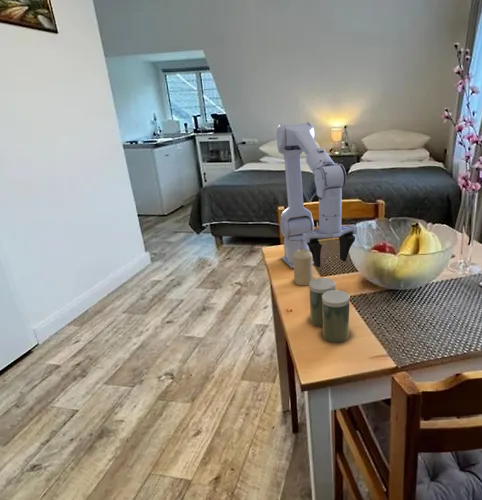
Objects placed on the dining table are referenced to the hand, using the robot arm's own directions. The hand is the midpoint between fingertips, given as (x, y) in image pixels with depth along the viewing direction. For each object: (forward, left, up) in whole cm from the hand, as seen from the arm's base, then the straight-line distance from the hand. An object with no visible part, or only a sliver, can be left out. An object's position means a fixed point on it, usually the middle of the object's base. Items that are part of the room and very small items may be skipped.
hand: (330, 262), depth 102 cm
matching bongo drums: (+14, -7, -10) cm, 18 cm away
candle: (-11, -3, -10) cm, 15 cm away
